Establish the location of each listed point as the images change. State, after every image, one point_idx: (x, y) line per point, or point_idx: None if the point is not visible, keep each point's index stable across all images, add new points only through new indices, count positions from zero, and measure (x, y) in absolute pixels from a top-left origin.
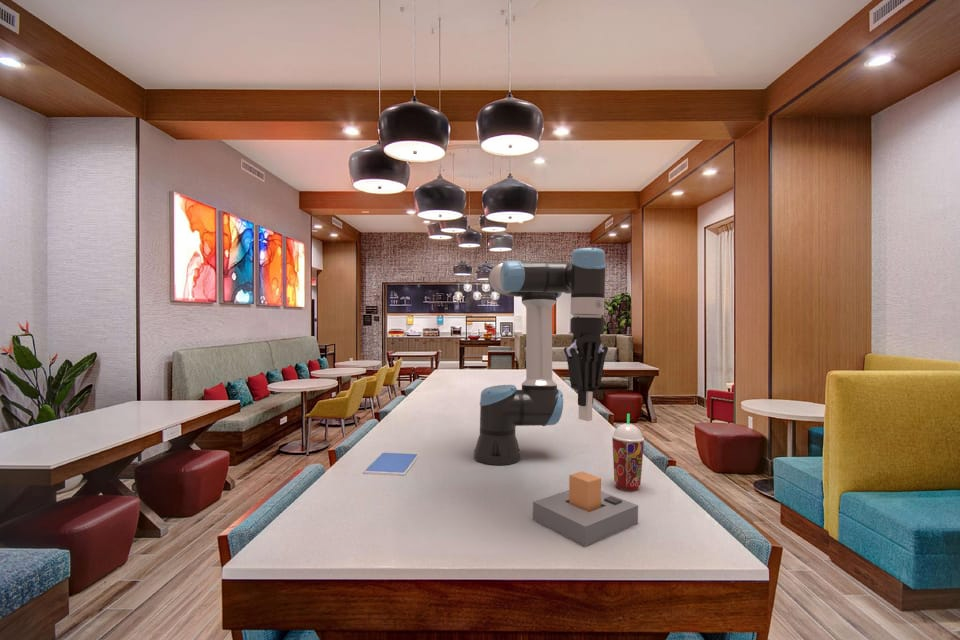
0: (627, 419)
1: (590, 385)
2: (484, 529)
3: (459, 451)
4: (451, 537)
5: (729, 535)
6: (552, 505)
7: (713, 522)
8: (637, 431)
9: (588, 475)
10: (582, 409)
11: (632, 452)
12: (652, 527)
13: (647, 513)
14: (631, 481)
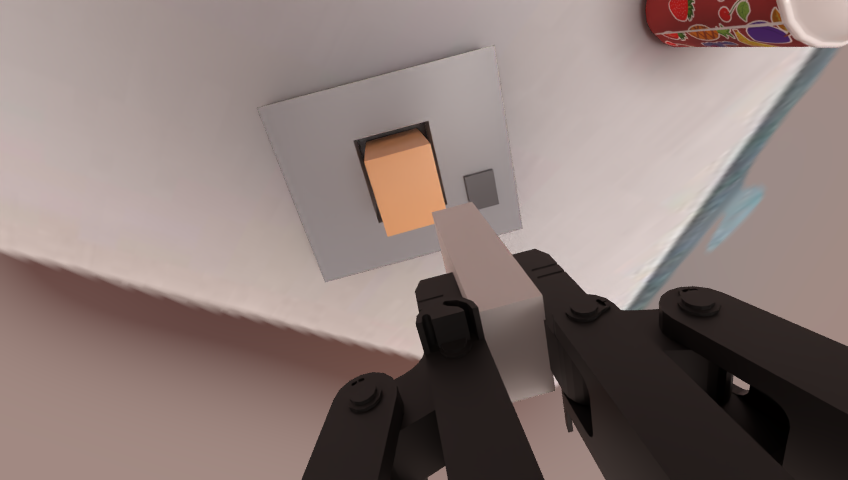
0: None
1: (577, 421)
2: (112, 110)
3: None
4: (6, 121)
5: (622, 307)
6: (303, 154)
7: (652, 261)
8: None
9: (425, 186)
10: (449, 270)
11: (757, 40)
12: (521, 239)
13: (570, 180)
14: (674, 43)
